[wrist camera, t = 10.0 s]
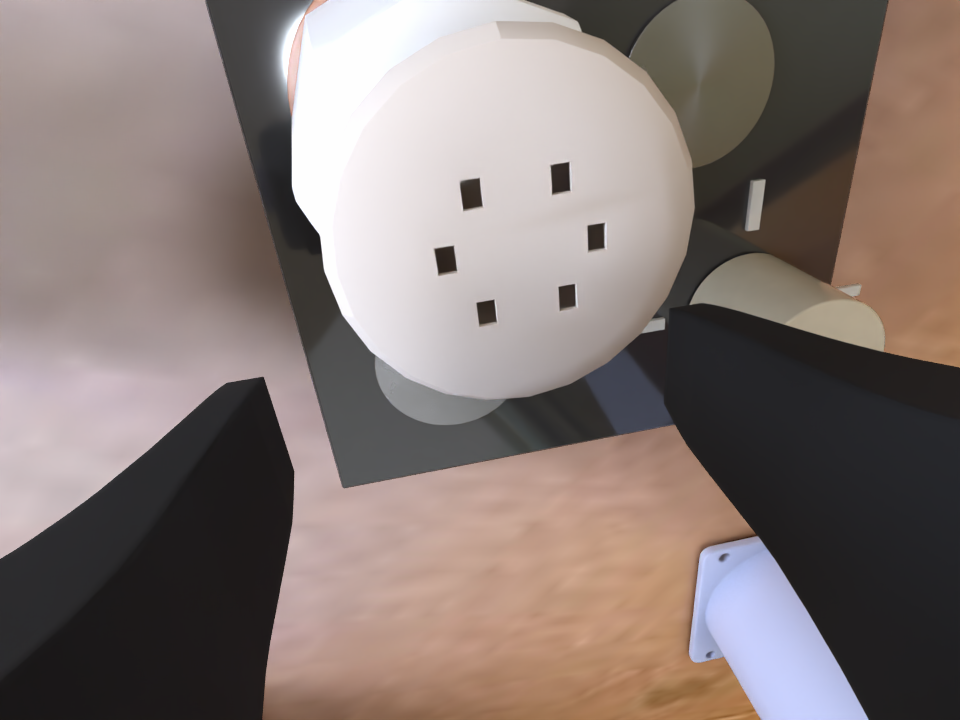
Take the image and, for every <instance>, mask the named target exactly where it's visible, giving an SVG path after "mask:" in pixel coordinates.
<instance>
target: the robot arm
mask: <svg viewBox="0 0 960 720" xmlns="http://www.w3.org/2000/svg"><path fill="white" fill-rule="evenodd" d="M664 405H665V407H666V408H667V410H668V412H669V414H670V416H671V418H672V420H673V422H674V423H675V425H676V427H677V429H678V430H679V432H680V434H681V436H682V437H683V439H684V441H685V442H686V444H687V446H688V447H689V448H690V450H691V451H692V452H693V454H694V455H695V456H696V458H697V459H698V460H699V462H700V463H701V464H702V466H703V467H704V468H705V469H706V471H707V472H708V473H709V475H710V476H711V477H712V479H713V480H714V481H715V482H716V484H717V485H718V486H719V487H720V489H721V490H722V491H723V492H724V494H725V495H726V496H727V498H728V499H729V500H730V501H731V503H732V504H733V505H734V506H735V508H736V509H737V510H738V512H739V513H740V514H741V515H742V517H743V518H744V519H745V520H746V522H747V523H748V524H749V526H750V527H751V528H752V529H753V531H754V532H755V533H756V534H757V536H755V537H750V538H746V539H741V540H737V541H732V542H727V543H723V544H718V545H713V546H709V547H707V548H705V549H704V550H703V551H702V552H701V554H700V558H699V567H698V576H697V584H696V593H695V602H694V611H693V620H692V628H691V637H690V646H689V656H690V658H691V659H692V661H693V662H697V663H699V662H704V661H708V660H713V659H717V658H721V657H725V659H726V660H727V662H728V664H729V666H730V667H731V669H732V671H733V672H734V674H735V676H736V678H737V679H738V681H739V683H740V684H741V686H742V688H743V690H744V691H745V693H746V695H747V696H748V698H749V700H750V702H751V703H752V705H753V707H754V708H755V710H756V712H757V714H758V715H759V717H760V719H761V720H960V368H959V367H954V366H949V365H944V364H938V363H933V362H928V361H923V360H918V359H912V358H908V357H903V356H899V355H894V354H890V353H886V352H882V351H878V350H874V349H870V348H866V347H862V346H858V345H854V344H850V343H846V342H843V341H839V340H835V339H832V338H828V337H825V336H821V335H818V334H814V333H811V332H807V331H804V330H801V329H797V328H794V327H791V326H787V325H784V324H781V323H778V322H774V321H771V320H768V319H764V318H761V317H758V316H754V315H751V314H748V313H744V312H741V311H737V310H733V309H730V308H726V307H722V306H717V305H712V304H706V303H698V304H692V305H686V306H680V307H674V308H669V325H668V341H667V357H666V373H665V389H664ZM293 500H294V469H293V466H292V463H291V460H290V457H289V454H288V451H287V448H286V444H285V441H284V438H283V435H282V432H281V429H280V426H279V423H278V420H277V417H276V414H275V411H274V408H273V404H272V401H271V398H270V395H269V392H268V389H267V386H266V383H265V380H264V377H259V378H253V379H248V380H242V381H236V382H230V383H226V384H225V385H223V386H222V387H220V388H219V389H218V390H216V391H215V392H214V393H213V394H212V395H210V396H209V397H208V398H207V399H206V400H205V401H203V402H202V403H201V404H200V405H199V406H198V407H197V408H196V409H194V410H193V411H192V412H191V413H190V414H189V415H188V416H187V417H186V418H184V419H183V420H182V421H181V422H180V423H179V424H178V425H177V426H175V427H174V428H173V429H172V430H171V431H170V432H169V433H168V434H166V435H165V436H164V437H163V438H162V439H161V440H160V441H159V442H157V443H156V444H155V445H154V446H153V447H152V448H151V449H149V450H148V451H147V452H146V453H145V454H144V455H142V456H141V457H140V458H139V459H137V460H136V461H135V462H134V463H133V464H131V465H130V466H129V467H128V468H126V469H125V470H124V471H123V472H122V473H120V474H119V475H118V476H117V477H115V478H114V479H113V480H112V481H110V482H109V483H108V484H107V485H106V486H104V487H103V488H102V489H101V490H99V491H98V492H97V493H96V494H94V495H93V496H92V497H90V498H89V499H88V500H86V501H85V502H84V503H82V504H81V505H80V506H78V507H77V508H76V509H74V510H73V511H71V512H70V513H69V514H67V515H66V516H65V517H63V518H62V519H60V520H59V521H57V522H56V523H54V524H53V525H52V526H50V527H49V528H47V529H46V530H44V531H43V532H41V533H40V534H38V535H37V536H36V537H34V538H33V539H31V540H30V541H28V542H27V543H25V544H24V545H22V546H21V547H19V548H17V549H16V550H14V551H13V552H11V553H9V554H8V555H6V556H5V557H3V558H1V559H0V720H262V714H263V701H264V689H265V676H266V667H267V660H268V653H269V646H270V640H271V635H272V630H273V624H274V619H275V614H276V608H277V603H278V598H279V593H280V587H281V582H282V577H283V571H284V566H285V561H286V555H287V550H288V544H289V539H290V533H291V527H292V519H293Z"/></svg>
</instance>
